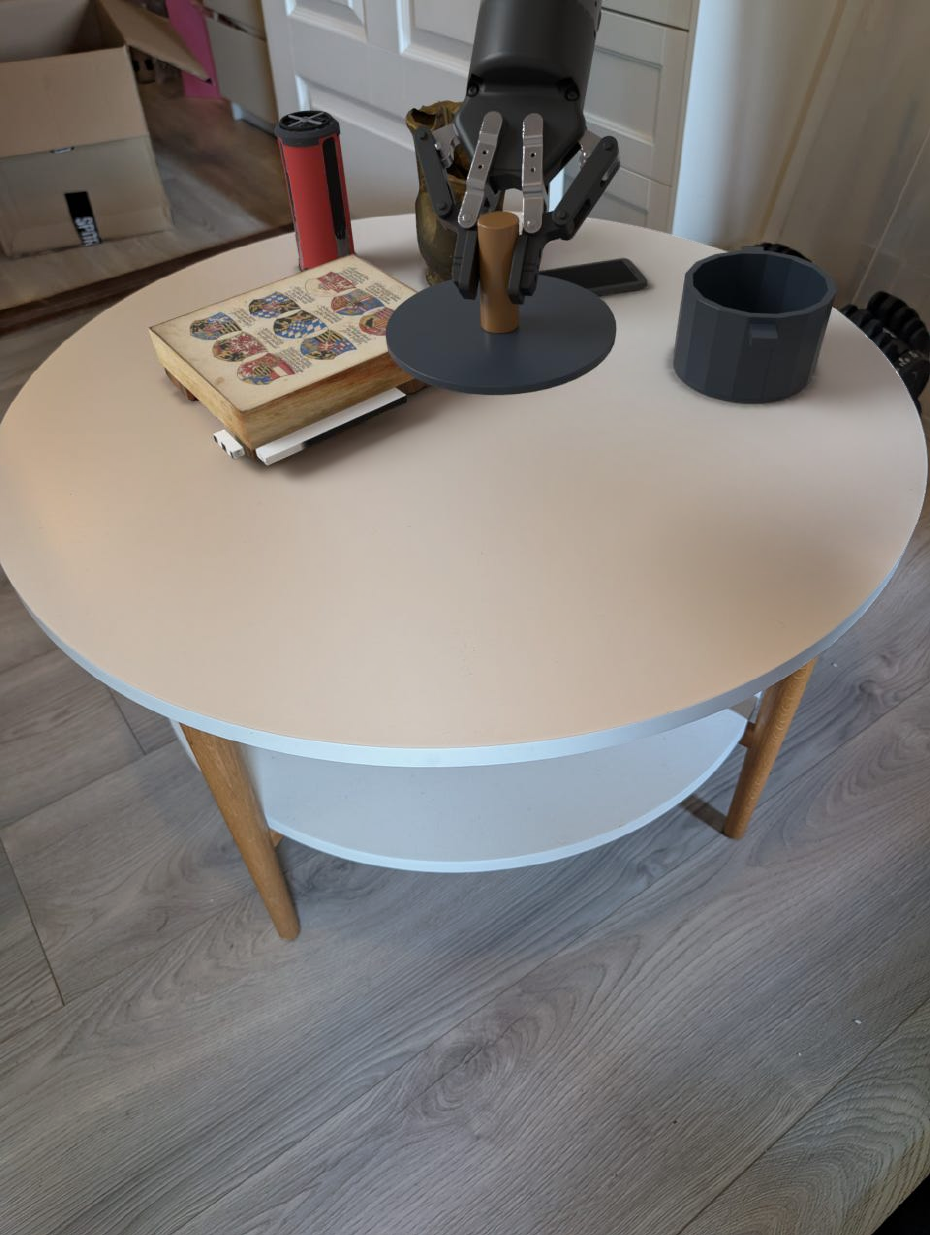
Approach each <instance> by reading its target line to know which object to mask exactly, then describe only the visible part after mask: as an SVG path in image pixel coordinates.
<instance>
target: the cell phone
mask: <svg viewBox="0 0 930 1235" xmlns="http://www.w3.org/2000/svg"><path fill="white" fill-rule="evenodd" d="M539 275H544V276H549V277H554V278H558V279H562V280H565V281H568V282H571V283H574V284H577V285H579V286H581V287H583V288H585V289H587V290H589V291H591V292H592V293H594V294H596V295H597V296H603V295H610V294H616V293H622V292H628V291H634V290H639V289H645V288H647V286H648V279H647V277H646V276H645V275H644V274H643V272H641V271H640V269H639V268H638V267H637V266H636V265H635V264H634V263H633V261H631V259H630V258H627V257H621V258H614V259H606V260H601V261H594V262H589V263H581V264H575V265H567V266H562V267H556V268H549V269H543V270H539Z"/></svg>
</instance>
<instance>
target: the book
mask: <svg viewBox="0 0 930 1235" xmlns="http://www.w3.org/2000/svg"><path fill="white" fill-rule="evenodd" d="M418 292H419V291H418V290H416V289H414V288H413V287H411V286H410V285H408V284H406V283H404V282H403V281H401V280H399V279H397V278H396V277H394V276H393V275H391V274H389V273H387V272H386V271H384V270H383V269H381V268H379V267H378V266H376V265H374V264H372V263H371V262H369V261H368V260H366V259H364V258H362V257H361V256H359V255H358V254H357V253H356V254H354V253H352V254H350V255H347V256H344V257H341V258H339V259H336V260H333V261H330V262H328V263H325V264H322V265H319V266H317V267H314V268H311V269H308V270H306V271H303V272H301V271H300V272H298V273H295V274H293V275H289V276H287V277H284V278H281V279H278V280H275V281H273V282H270V283H268V284H265V285H261V286H259V287H256V288H254V289H251V290H248V291H246V292H242V293H240V294H237V295H235V296H231V297H229V298H226V299H224V300H220V301H217V302H215V303H213V304H210V305H206V306H204V307H201V308H198V309H195V310H193V311H191V312H187V313H186V314H182V315H179V316H176V317H174V318H171V319H167V320H166V321H163V322H160V323H157V324H154V325H152V326H149V327H148V328H147V330H148V332H149V334H150V338H151V341H152V343H153V346H154V349H155V352H156V355H157V357H158V361H159V364H160V365H162V366H163V369H164V372H165V375H166V376H167V377H168V379H169V380H170V381H171V383H172V384H173V385H174V386H175V387H176V388H177V389H178V390H179V391H180V392H181V393H182V394H183V396H184V397H185V398H186V399H187V400H189V401H195V399H197V400H198V401H199V402H200V403H201V404H202V405H203V406H204V407H205V408H206V409H207V410H209V411H210V412H211V413H212V414H213V415H214V416H215V418H217V419H218V421H220V422H221V423H222V424H223V425H224V426H225V427H227V429H228V430H229V431H231V432H232V433H233V435H234V437H233V436H232V435H231V434H229V432H228V431H227V430H225V429H222V430H219V431H217V432H214V433H213V434H212V436H213V439H214V442H215V443H216V444H217V445H218V446H220V447H221V449H223V450H224V452H225V453H226V454H228V455H229V456H230V457H231V459H233V460H236V459H238V458H240V457H244V456H245V455H246V456H247V457H249V458H250V459H251V460H252V461H257V460H261V462H263V463H264V464H265V465H266V466H269V465H272V464H274V463H276V462H279V461H282V460H284V459H285V458H287V457H289V456H292V455H294V454H297V453H298V452H300V451H303V450H305V449H308V448H310V447H311V446H314V445H316V444H318V443H320V442H322V441H325V440H327V439H329V438H331V437H334V436H336V435H338V434H340V433H342V432H345V431H347V430H349V429H351V428H353V427H356V426H358V425H361V424H362V423H365V422H366V421H369V420H371V419H373V418H375V417H377V416H380V415H382V414H384V413H386V412H389V411H391V410H393V409H395V408H397V407H399V406H402V405H404V404H407V403H408V399H407V398H408V397H407V394H412V393H415V392H418V391H420V390H421V389H423V388H425V387H428V386H431V385H430V384H427V383H425V382H422V381H420V380H418V379H416V378H414V377H413V376H411V375H409V374H408V373H406V372H405V371H404V370H403V369H401V368H400V367H399V366H398V365H397V364H396V363H395V361H394V360H393V359H392V357H391V355H390V353H389V351H388V348H387V344H386V337H385V335H386V326H387V323H388V320H389V318H390V317H391V315H392V313H393V312H394V311H395V310H396V309H397V307H398V306H399V305H401V304H402V303H403V302H404V301H405V300H407V299H408V298H410V297H411V296H413V295H414V294H416V293H418Z"/></svg>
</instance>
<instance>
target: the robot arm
mask: <svg viewBox="0 0 930 1235" xmlns="http://www.w3.org/2000/svg"><path fill="white" fill-rule="evenodd" d="M602 4H603V0H480V2H479V8H478V14H477V20H476V26H475V32H474V39H473V44H472V50H471V56H470V63H469V68H468V74H467V81H466V90H465V95H464V99H463V101H462V102H463V103H462V105H461V106H460V108H459V109H458V110H457V112H456V114H455V116H454V121H453V123H451V124H449V125H446V126H444V127H441V128H439V129H437V130H434V131H432V132H431V130H430V129H429V128H428V127H427V126H420V127H418V128H417V129H416V130H415V132H414V134H413V137H412V140H413V139H414V141H413V144H414V143H415V146H416V150H417V153H418V157H419V160H420V164H421V168H422V171H423V175H424V178H425V182H426V186H427V189H428V193H429V196H430V200H431V204H432V207H433V210H434V212H435V214H436V216H437V217H438V219H439V221H440V222H441V224H442V225H443V227H444V229H445V230H447V231H453V232H456V233H457V234H458V237H457V243H456V249H455V255H454V261H453V267H452V273H451V274H452V279H453V282H454V284H455V285H456V287H457V288H458V289H459V292H460V294H461V295H462V297H463V298H464V299H469V300H475V299H476V296H477V291H478V285H479V251H478V218H479V217H480V216H482V215H483V214H486V213H489V212H492V211H494V210H495V208H496V205H497V202H498V198H499V195H500V192H501V191H503V190H506V191H509V190H512V189H515V190H518V191H520V192H522V198H523V199H522V222H521V223H522V230H521V234H520V233H519V234H517V238H516V244H515V250H514V256H513V262H512V268H511V274H510V280H509V286H508V297H509V299H510V301H511V303H512V304H519V305H523V304H524V301H525V296H532V295H533V293H534V292H535V290H536V287H537V281H538V275H539V271H540V270H541V269H540V268H541V262H542V256H543V251H544V249H545V247H546V246H547V245H548V244H549V243H551V242H553V241H557V240H561V241H564V242H567V241H571V240H572V239H574V237H576V234H578V232H579V230H580V229H581V227H582V226H583V225H584V223H585V221H586V220H587V218H588V217H589V215H590V213H591V212H592V211H593V209H594V208H595V206H596V205H597V204H598V201H599V200H600V198H601V197H602V196H603V194H604V193H605V191H606V189H607V188H608V186H609V185H610V183H611V182H612V180H613V179H614V178H615V176H616V174H617V173H618V172H619V170H620V168H621V156H620V146H619V142H618V139H617V138H616V137H615V136H613V135H605V136H603V137H602V136H599V135H597V134H595V133H594V132H592V131H591V130H589V129H588V126H587V119H586V117H585V114H584V110H585V109H584V108H585V103H586V97H587V91H588V87H589V86H588V85H589V79H590V74H591V68H592V61H593V56H594V51H595V46H596V45H595V44H596V39H597V34H598V32H599V30H600V27H601V26H600V25H601V21H602V16H603V15H602V14H603V13H602ZM459 143H461V145H462V147H463V149H464V151H465V153H466V155H467V157H468V159H469V161H470V163H471V167H470V170H469V174H468V177H467V181H466V193H465V197H464V200H463V203H462V206H459V205H457V204H456V203H455V200H454V196H453V193H452V189H451V185H450V182H449V178H448V175H447V171H446V167H450V165H451V164H452V162H453V159H454V155H453V152H454V149H455V147H456V146H457V145H458V144H459ZM579 152H580V155H579V157H578V164H579V168H580V170H579V172H578V173H577V175H576V176H575V177H574V179H573V181H572V182H571V183H570V185H569V186H568V188H567V190H566V191H565V193H564V194H563V196H562V197H561V199H560V201H558V203H557V205H556V207H555V208H554V210H551V211H550V203H551V202H550V201H551V200H550V199H551V192H550V191H551V182H552V181H553V180H554V179H555V178H556V177H557V176H558V175H559V174H560V172H561V171H563V169H564V168H565V167H566V166H567V165H568V164H569V162H571V161H572V159H574V158H575V156H576V155H577V154H578V153H579Z"/></svg>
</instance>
